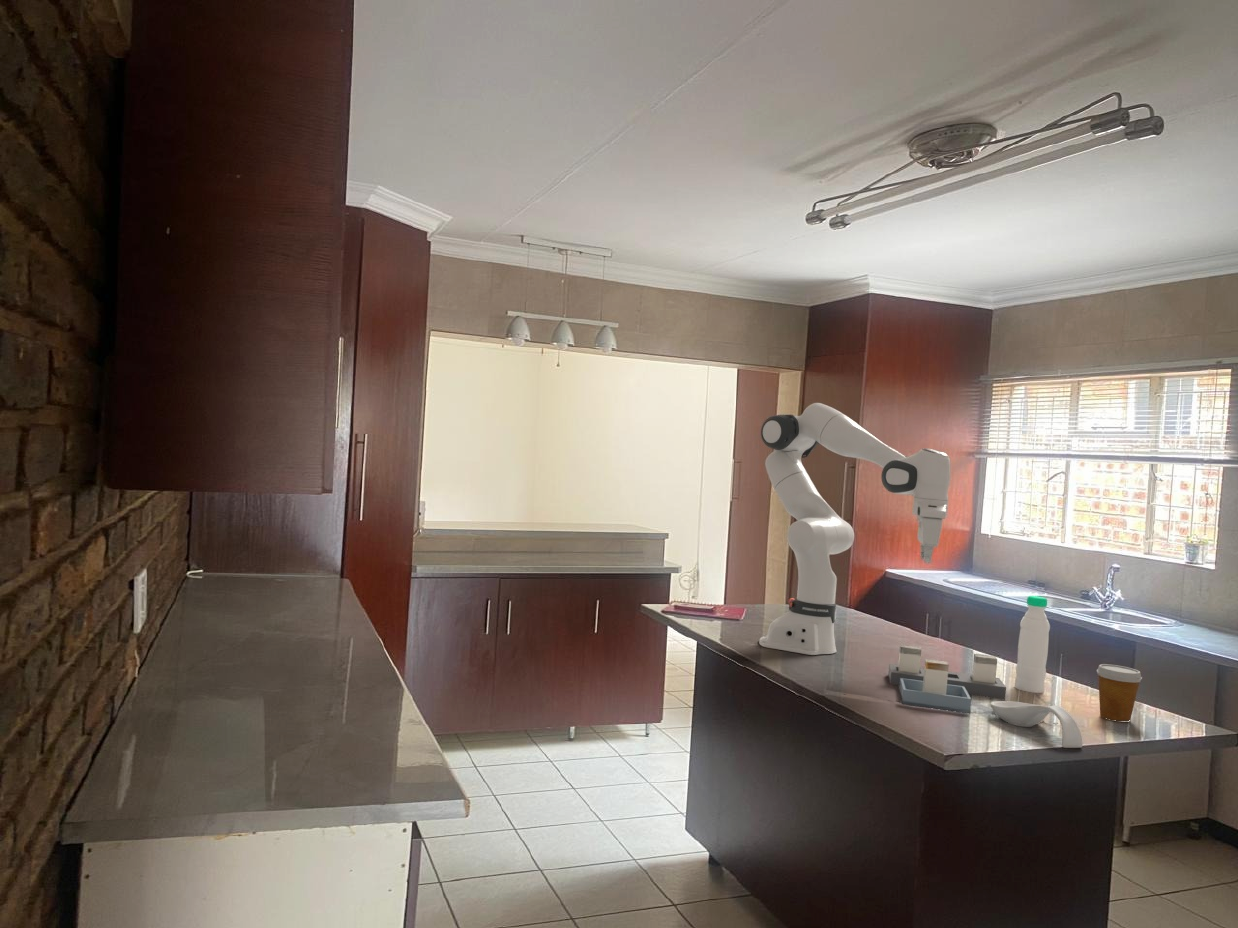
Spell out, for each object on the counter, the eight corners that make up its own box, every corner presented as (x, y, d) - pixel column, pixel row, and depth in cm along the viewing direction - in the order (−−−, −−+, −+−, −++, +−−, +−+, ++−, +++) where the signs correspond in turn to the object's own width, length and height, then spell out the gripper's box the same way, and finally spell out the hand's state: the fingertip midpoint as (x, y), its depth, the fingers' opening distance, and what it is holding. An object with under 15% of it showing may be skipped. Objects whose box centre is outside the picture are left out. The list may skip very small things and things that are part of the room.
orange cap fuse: (923, 699, 214) (926, 661, 214) (922, 695, 218) (925, 658, 218) (945, 702, 213) (948, 664, 213) (943, 698, 217) (947, 661, 216)
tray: (902, 704, 211) (903, 689, 211) (898, 691, 223) (900, 677, 223) (969, 713, 208) (971, 698, 208) (963, 700, 219) (964, 686, 219)
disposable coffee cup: (1147, 724, 211) (1152, 674, 211) (1115, 725, 208) (1119, 673, 208) (1114, 712, 220) (1119, 663, 220) (1083, 712, 217) (1087, 663, 217)
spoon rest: (978, 714, 209) (981, 683, 209) (1022, 714, 212) (1024, 684, 212) (1050, 749, 186) (1053, 715, 186) (1098, 749, 189) (1101, 715, 189)
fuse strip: (889, 687, 226) (891, 672, 226) (887, 678, 236) (889, 663, 236) (1004, 703, 220) (1006, 687, 220) (997, 693, 230) (999, 677, 230)
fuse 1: (897, 681, 229) (900, 646, 229) (896, 678, 232) (899, 644, 232) (918, 684, 228) (921, 649, 228) (917, 681, 231) (920, 646, 231)
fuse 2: (972, 692, 225) (976, 656, 225) (970, 688, 228) (973, 653, 228) (994, 695, 224) (997, 659, 223) (991, 691, 227) (995, 656, 227)
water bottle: (1045, 698, 229) (1054, 600, 228) (1015, 693, 231) (1023, 596, 231) (1042, 691, 236) (1051, 596, 235) (1013, 687, 238) (1021, 593, 238)
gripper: (914, 506, 252) (910, 556, 252) (920, 510, 232) (916, 563, 233) (938, 509, 251) (933, 558, 251) (946, 512, 231) (941, 566, 231)
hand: (925, 561), depth 242 cm, fingers open, 8 cm apart
